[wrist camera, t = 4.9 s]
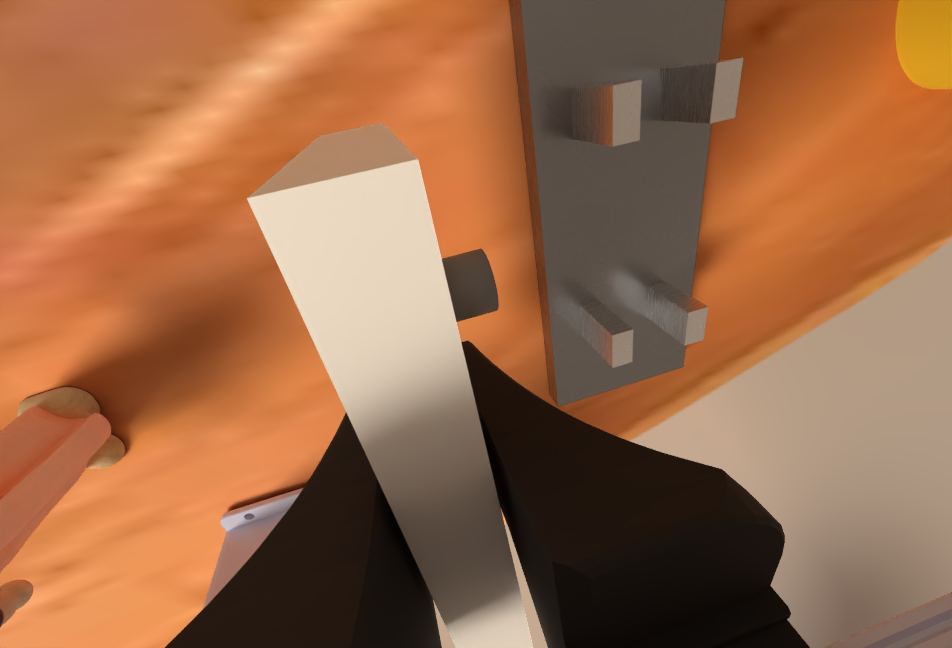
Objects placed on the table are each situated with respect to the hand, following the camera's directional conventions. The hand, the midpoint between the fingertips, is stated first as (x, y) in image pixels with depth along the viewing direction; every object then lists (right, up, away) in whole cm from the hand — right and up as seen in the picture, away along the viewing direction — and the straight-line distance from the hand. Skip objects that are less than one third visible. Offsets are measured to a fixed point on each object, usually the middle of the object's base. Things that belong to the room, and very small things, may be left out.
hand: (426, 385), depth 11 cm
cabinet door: (-1, +1, +2) cm, 2 cm away
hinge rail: (+8, +7, +9) cm, 14 cm away
